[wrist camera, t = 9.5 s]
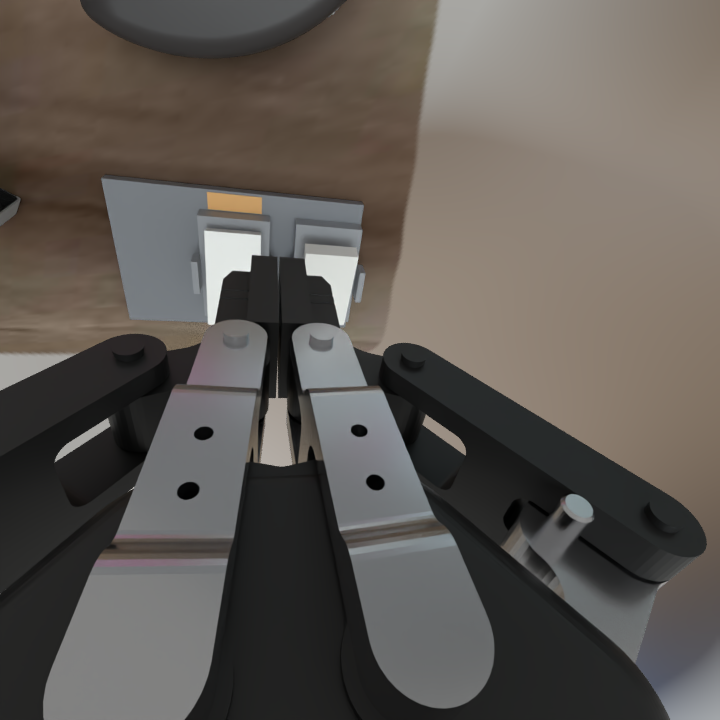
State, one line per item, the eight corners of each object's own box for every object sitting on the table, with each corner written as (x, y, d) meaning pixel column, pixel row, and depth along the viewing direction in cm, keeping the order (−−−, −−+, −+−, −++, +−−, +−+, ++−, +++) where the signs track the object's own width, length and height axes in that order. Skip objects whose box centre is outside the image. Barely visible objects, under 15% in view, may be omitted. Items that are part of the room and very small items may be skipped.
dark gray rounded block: (152, 74, 30) (115, 91, 23) (116, -9, 28) (60, -19, 20) (371, 16, 30) (402, 15, 23) (358, -73, 28) (389, -107, 20)
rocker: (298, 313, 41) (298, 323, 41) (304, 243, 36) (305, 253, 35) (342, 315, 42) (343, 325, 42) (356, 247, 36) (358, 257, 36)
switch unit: (132, 313, 42) (120, 338, 38) (105, 174, 34) (87, 191, 31) (347, 322, 46) (352, 345, 43) (366, 202, 39) (374, 218, 35)
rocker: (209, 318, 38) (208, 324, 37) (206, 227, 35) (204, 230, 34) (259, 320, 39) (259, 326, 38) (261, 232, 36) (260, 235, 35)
